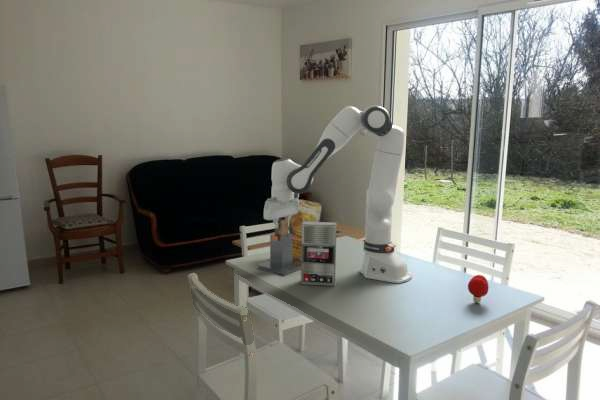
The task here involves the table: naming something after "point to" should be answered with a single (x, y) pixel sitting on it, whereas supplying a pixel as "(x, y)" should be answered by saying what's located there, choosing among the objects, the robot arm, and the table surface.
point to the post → (282, 228)
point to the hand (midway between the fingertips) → (281, 226)
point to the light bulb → (478, 287)
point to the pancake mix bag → (306, 213)
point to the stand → (280, 256)
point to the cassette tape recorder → (318, 253)
